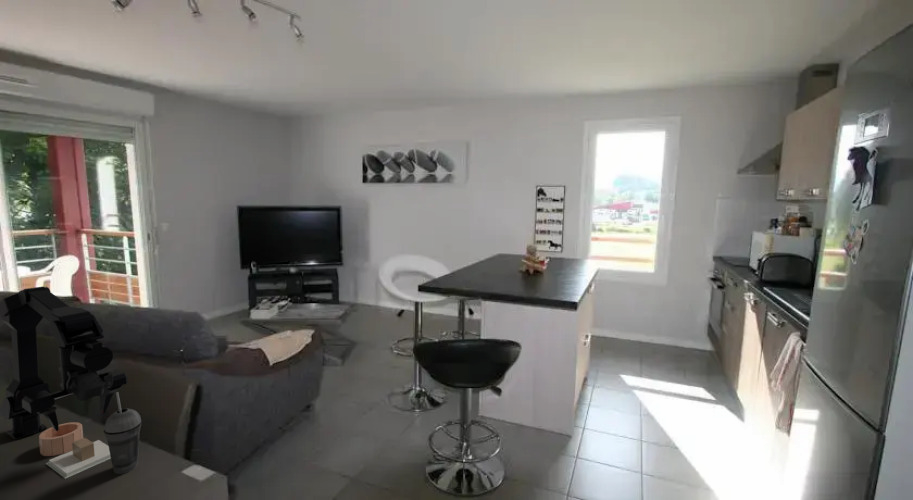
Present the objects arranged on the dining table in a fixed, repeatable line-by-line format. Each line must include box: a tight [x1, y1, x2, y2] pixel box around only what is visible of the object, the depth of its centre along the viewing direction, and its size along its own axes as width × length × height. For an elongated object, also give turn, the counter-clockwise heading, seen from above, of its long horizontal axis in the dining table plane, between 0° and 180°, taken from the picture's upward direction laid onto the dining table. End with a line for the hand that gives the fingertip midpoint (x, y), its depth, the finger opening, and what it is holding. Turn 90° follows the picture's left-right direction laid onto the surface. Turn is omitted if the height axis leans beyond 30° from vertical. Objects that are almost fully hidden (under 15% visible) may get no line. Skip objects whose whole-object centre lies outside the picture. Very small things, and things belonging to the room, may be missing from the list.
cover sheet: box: [48, 436, 111, 476], centre depth 103 cm, size 10×10×4 cm
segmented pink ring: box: [38, 421, 84, 457], centre depth 108 cm, size 8×8×5 cm
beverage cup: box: [103, 391, 143, 475], centre depth 99 cm, size 7×7×20 cm
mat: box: [45, 457, 111, 480], centre depth 103 cm, size 11×11×1 cm
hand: (80, 421), depth 102 cm, fingers open, 9 cm apart
